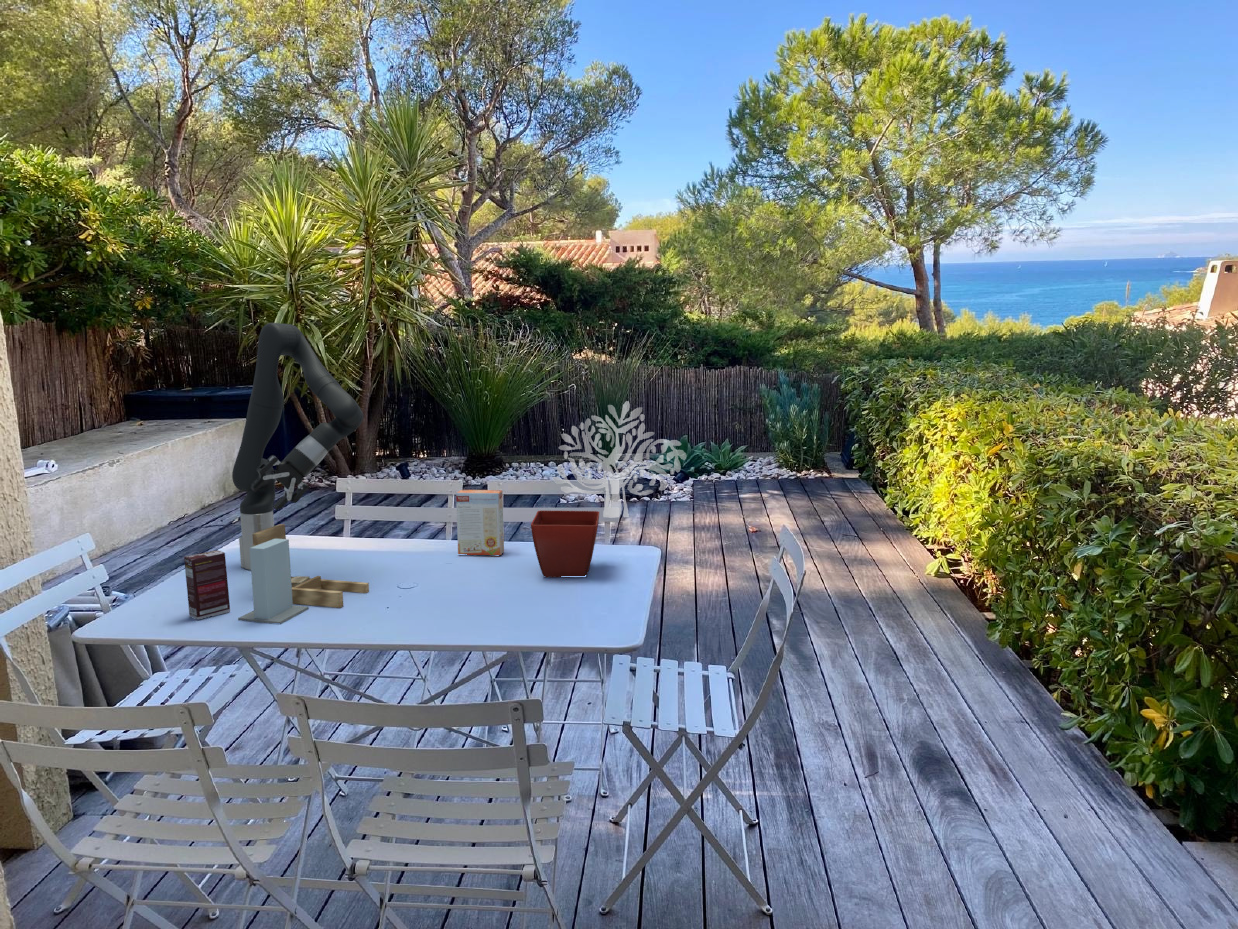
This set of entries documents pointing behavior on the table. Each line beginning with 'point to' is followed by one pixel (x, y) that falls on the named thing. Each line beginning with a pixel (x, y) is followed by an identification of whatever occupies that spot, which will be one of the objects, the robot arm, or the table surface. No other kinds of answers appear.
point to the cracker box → (480, 522)
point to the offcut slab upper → (299, 580)
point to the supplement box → (207, 584)
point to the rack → (313, 579)
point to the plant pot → (564, 541)
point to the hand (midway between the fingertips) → (263, 499)
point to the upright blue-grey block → (271, 578)
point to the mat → (278, 618)
